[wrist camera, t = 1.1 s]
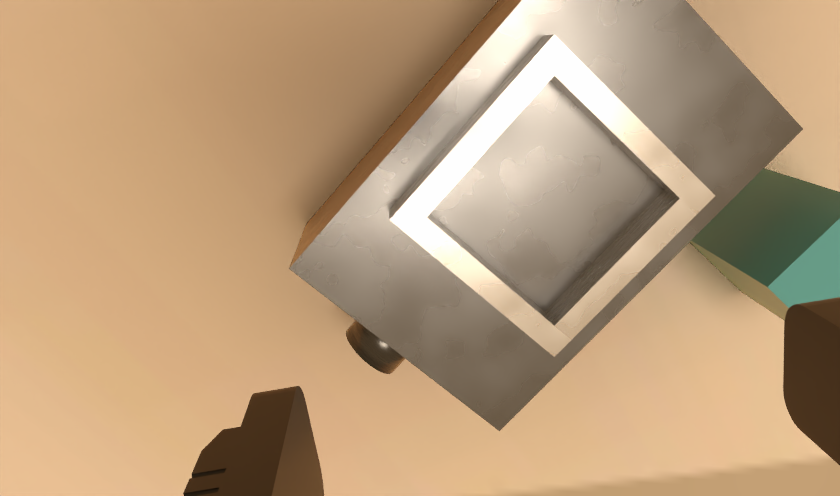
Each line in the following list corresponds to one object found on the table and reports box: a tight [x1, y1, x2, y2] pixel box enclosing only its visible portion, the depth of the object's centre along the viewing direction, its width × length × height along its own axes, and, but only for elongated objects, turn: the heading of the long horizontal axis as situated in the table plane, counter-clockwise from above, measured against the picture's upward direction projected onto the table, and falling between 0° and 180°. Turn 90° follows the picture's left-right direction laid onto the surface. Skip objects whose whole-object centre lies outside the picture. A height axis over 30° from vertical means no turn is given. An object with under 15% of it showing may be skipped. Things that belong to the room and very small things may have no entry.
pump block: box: [690, 168, 840, 321], centre depth 32 cm, size 5×5×8 cm
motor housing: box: [289, 0, 803, 431], centre depth 30 cm, size 20×12×8 cm, turn 138°
